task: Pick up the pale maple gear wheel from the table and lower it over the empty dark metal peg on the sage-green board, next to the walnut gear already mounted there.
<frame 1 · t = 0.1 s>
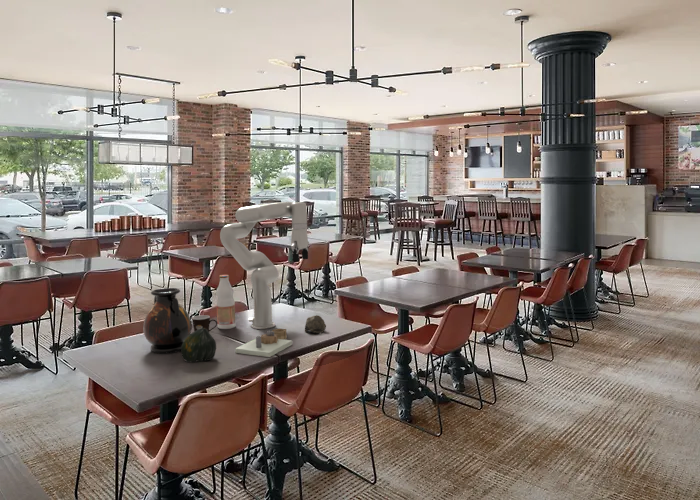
hand: (300, 260, 286), 37 cm above the table, tool pointing down, fingers open, 9 cm apart
amphora vase: (169, 349, 262), on the table
coffee mug: (204, 337, 281), on the table
squash: (199, 360, 246), on the table
fruit juice: (226, 327, 300), on the table
fossil: (315, 332, 287), on the table
maple gear: (279, 338, 276), on the table
gear board: (264, 348, 260), on the table
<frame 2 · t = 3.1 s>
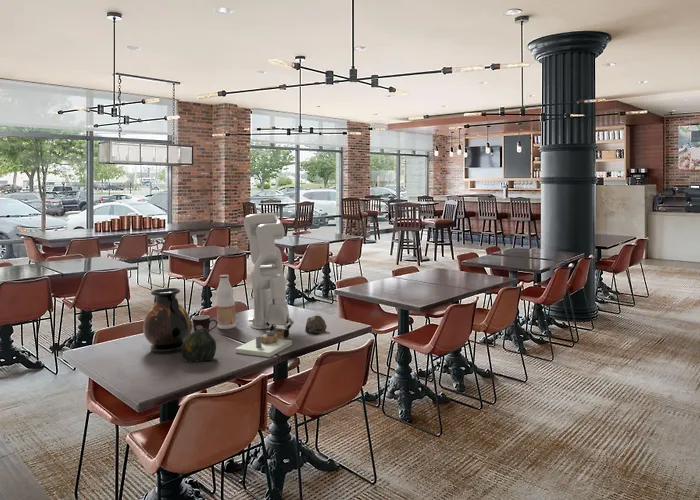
hand: (279, 336, 276), 1 cm above the table, tool pointing down, fingers closed on maple gear, 7 cm apart
maple gear: (279, 338, 276), on the table, touching gripper
everything else where it was.
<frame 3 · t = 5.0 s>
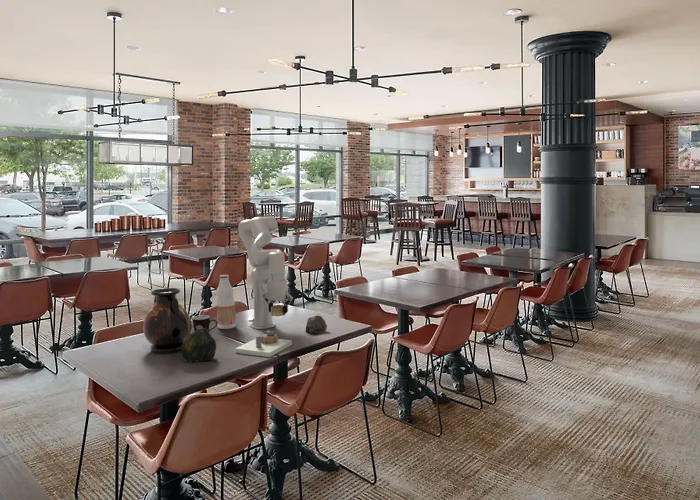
hand: (278, 312, 275), 13 cm above the table, tool pointing down, fingers closed on maple gear, 7 cm apart
maple gear: (278, 314, 275), point 12 cm above the table, touching gripper
everything else where it was.
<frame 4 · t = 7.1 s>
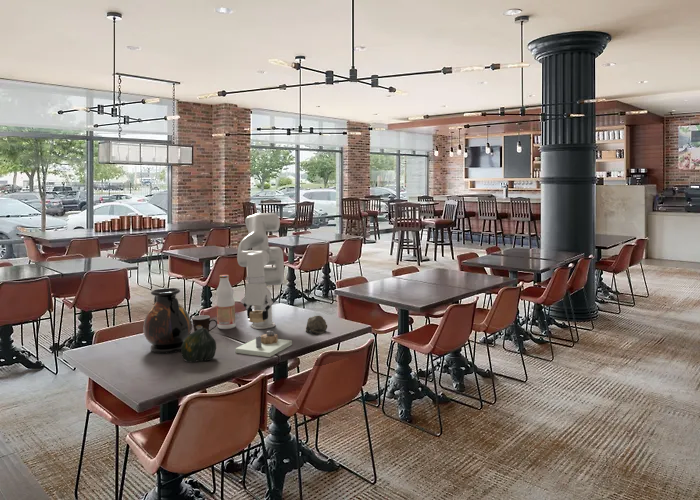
hand: (257, 318, 254), 15 cm above the table, tool pointing down, fingers closed on maple gear, 7 cm apart
maple gear: (257, 320, 254), point 14 cm above the table, touching gripper
everything else where it was.
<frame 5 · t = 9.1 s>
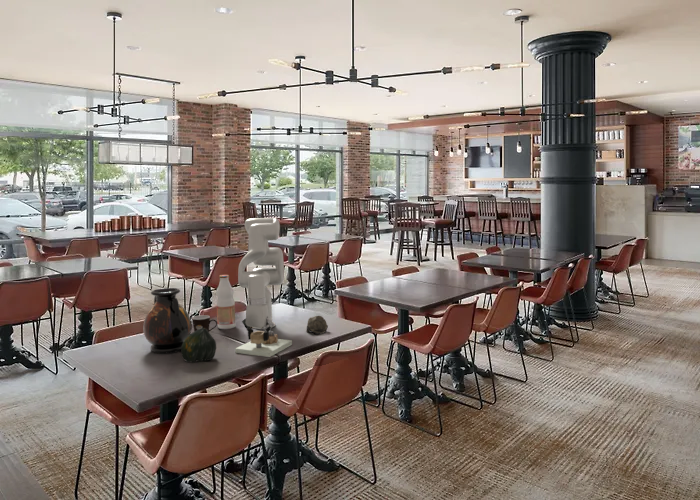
hand: (258, 339, 255), 6 cm above the table, tool pointing down, fingers closed on maple gear, 7 cm apart
maple gear: (258, 341, 255), point 5 cm above the table, touching gripper
when the fingers open (4 cm above the table, at t = 10.8 s): maple gear drops 1 cm, resting on gear board.
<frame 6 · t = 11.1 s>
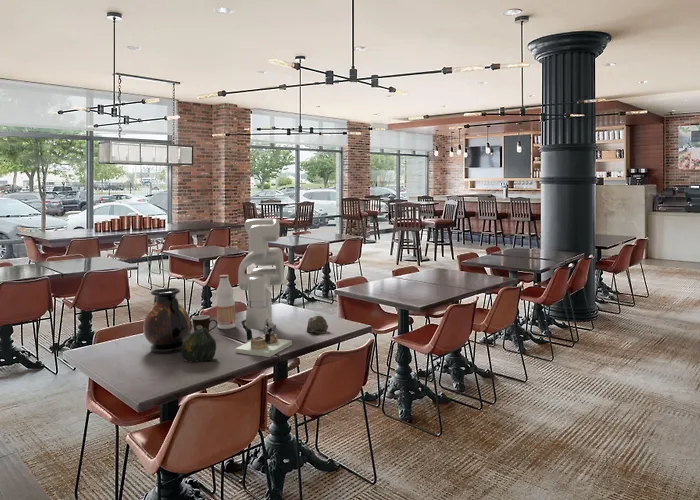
hand: (258, 340, 255), 5 cm above the table, tool pointing down, fingers open, 9 cm apart
maple gear: (258, 347, 256), point 2 cm above the table, touching gear board
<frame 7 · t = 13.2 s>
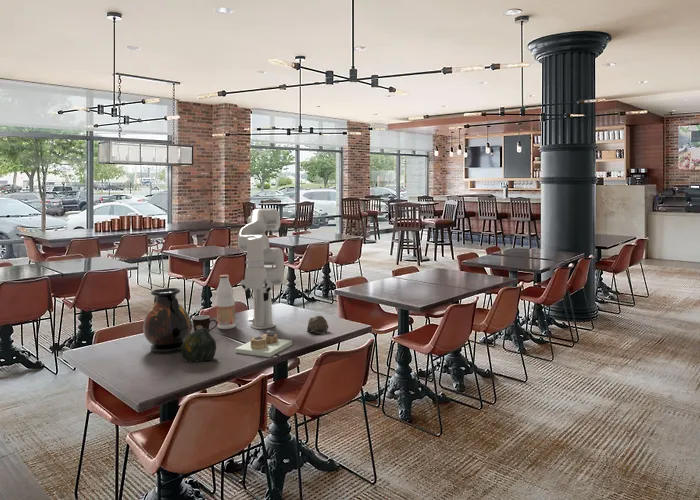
hand: (257, 299, 264), 22 cm above the table, tool pointing down, fingers open, 9 cm apart
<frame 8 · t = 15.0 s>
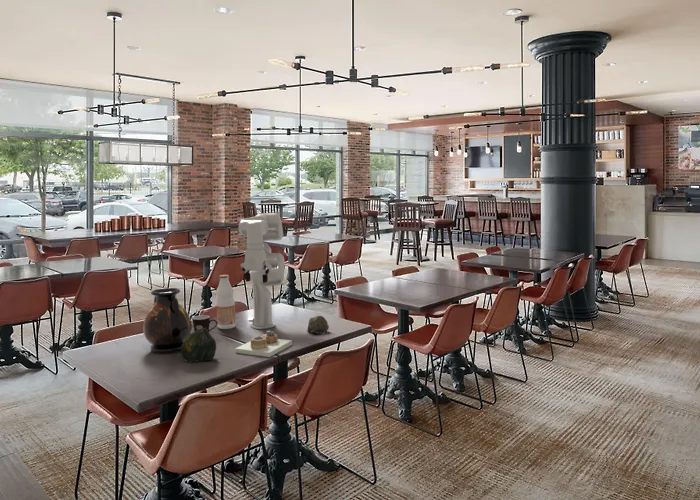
hand: (256, 281, 274), 28 cm above the table, tool pointing down, fingers open, 9 cm apart
at the end: maple gear 0.1 cm from the target spot on the gear board, point 2.0 cm above the gear board's base; maple gear tilted 0°; the gripper is holding nothing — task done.
